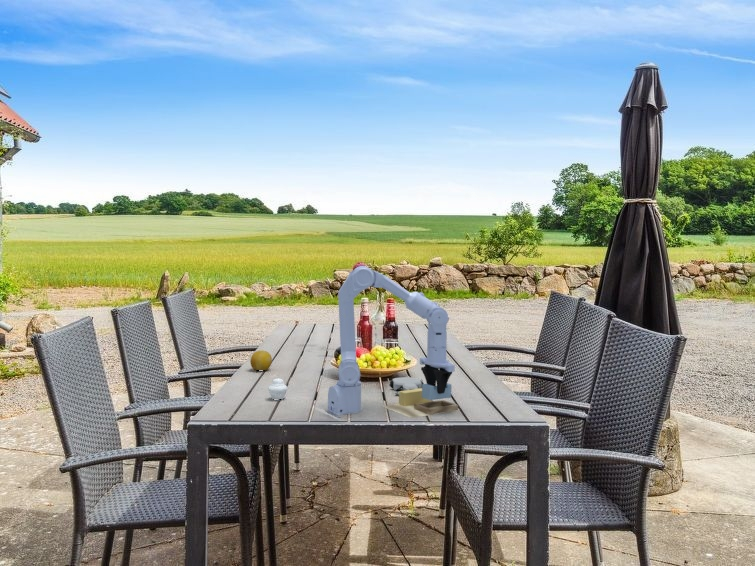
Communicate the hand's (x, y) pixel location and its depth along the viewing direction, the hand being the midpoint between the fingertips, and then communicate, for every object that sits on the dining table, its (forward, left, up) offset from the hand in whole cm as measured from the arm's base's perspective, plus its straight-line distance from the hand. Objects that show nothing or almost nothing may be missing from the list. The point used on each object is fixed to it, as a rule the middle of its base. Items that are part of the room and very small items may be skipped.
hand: (436, 391), depth 189 cm
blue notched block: (0, 0, -2) cm, 2 cm away
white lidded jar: (-34, +40, -7) cm, 53 cm away
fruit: (-21, +87, -7) cm, 90 cm away
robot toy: (+7, +25, -7) cm, 26 cm away
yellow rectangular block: (-1, +10, -5) cm, 11 cm away
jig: (-3, +4, -6) cm, 8 cm away
